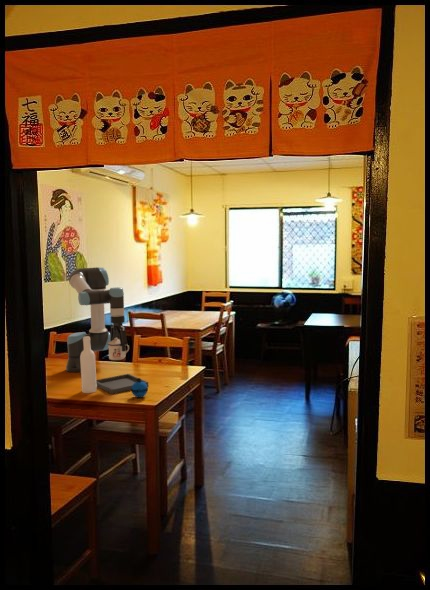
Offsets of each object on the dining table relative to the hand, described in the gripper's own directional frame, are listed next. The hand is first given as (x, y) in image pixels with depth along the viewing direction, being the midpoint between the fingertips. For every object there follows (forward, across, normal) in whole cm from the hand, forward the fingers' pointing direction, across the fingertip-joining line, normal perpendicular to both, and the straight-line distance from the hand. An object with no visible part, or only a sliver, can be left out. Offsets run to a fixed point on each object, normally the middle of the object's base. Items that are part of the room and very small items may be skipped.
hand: (119, 355), depth 279 cm
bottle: (+17, +2, +18) cm, 25 cm away
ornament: (+17, -26, +2) cm, 31 cm away
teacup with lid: (+2, 0, 0) cm, 2 cm away
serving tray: (+17, 0, 0) cm, 17 cm away
